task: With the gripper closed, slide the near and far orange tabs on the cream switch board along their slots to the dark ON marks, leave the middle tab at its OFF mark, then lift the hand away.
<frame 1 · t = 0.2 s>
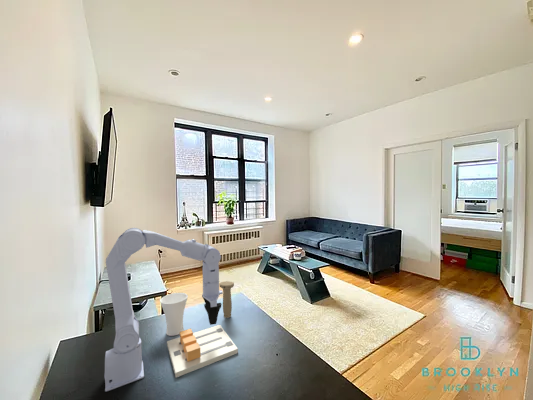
hand: (211, 318, 82), 10 cm above the table, tool pointing down, fingers open, 7 cm apart
tab near: (192, 351, 74), point 3 cm above the table, slide at 0.0 cm
handle: (227, 317, 102), on the table
switch board: (201, 349, 80), on the table
tab far: (186, 336, 83), point 3 cm above the table, slide at 0.0 cm
tab middle: (189, 343, 78), point 3 cm above the table, slide at 0.0 cm
cup: (175, 331, 92), on the table
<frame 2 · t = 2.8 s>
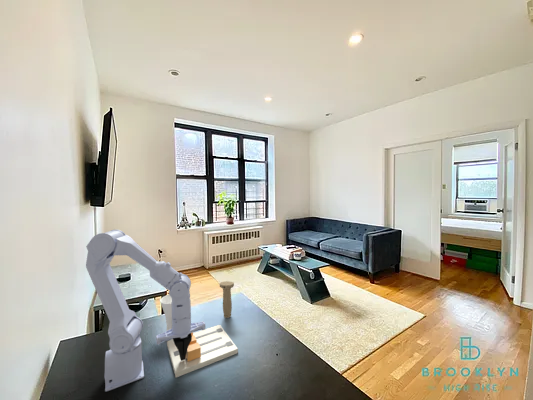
hand: (182, 358, 72), 2 cm above the table, tool pointing down, fingers closed
tab near: (193, 351, 74), point 3 cm above the table, slide at 0.1 cm, touching gripper
everything else where it was.
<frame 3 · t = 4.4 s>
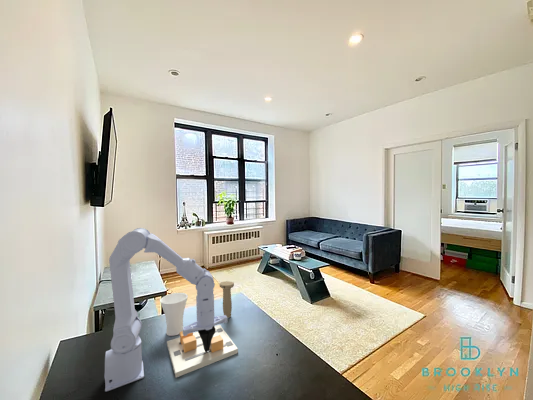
hand: (206, 349, 76), 2 cm above the table, tool pointing down, fingers closed
tab near: (216, 343, 78), point 3 cm above the table, slide at 7.8 cm, touching gripper
everything else where it was.
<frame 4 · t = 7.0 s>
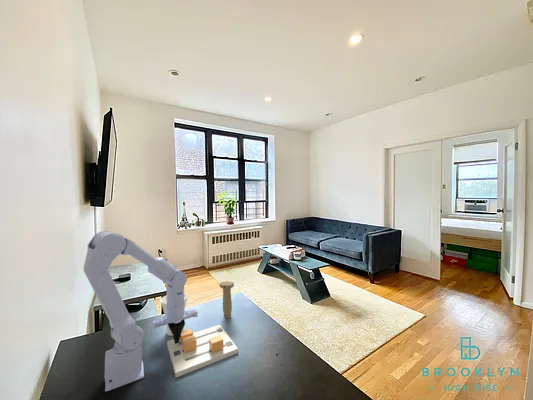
hand: (176, 341, 81), 2 cm above the table, tool pointing down, fingers closed
tab near: (216, 343, 78), point 3 cm above the table, slide at 7.8 cm
tab far: (186, 336, 83), point 3 cm above the table, slide at 0.0 cm, touching gripper
everything else where it was.
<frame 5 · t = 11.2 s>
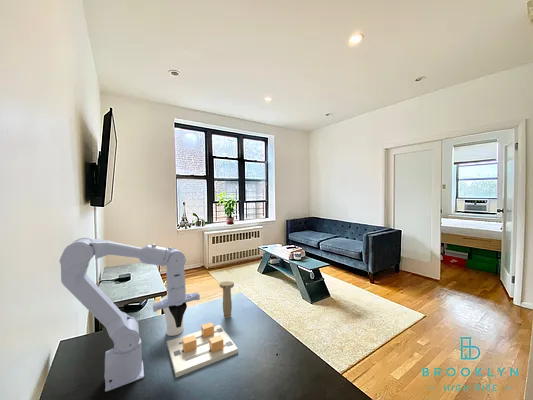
hand: (178, 326, 76), 10 cm above the table, tool pointing down, fingers closed
tab far: (207, 329, 87), point 3 cm above the table, slide at 7.8 cm
everything else where it was.
at the end: tab near slide at 7.8 cm; tab far slide at 7.8 cm; tab middle slide at 0.0 cm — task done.
